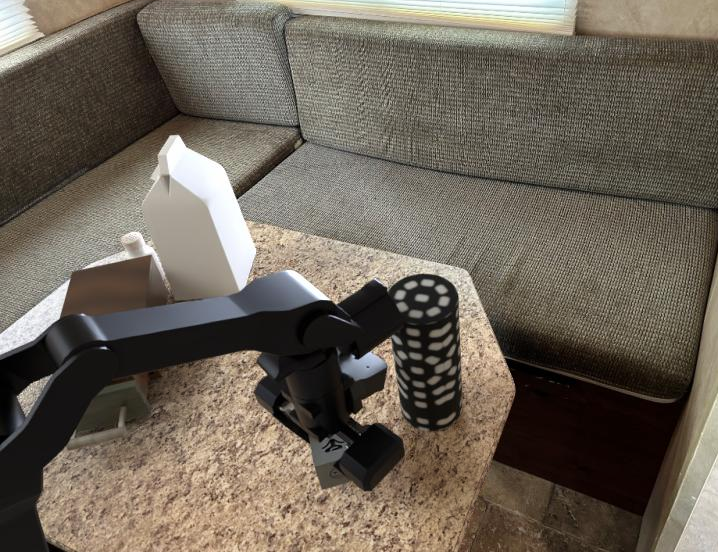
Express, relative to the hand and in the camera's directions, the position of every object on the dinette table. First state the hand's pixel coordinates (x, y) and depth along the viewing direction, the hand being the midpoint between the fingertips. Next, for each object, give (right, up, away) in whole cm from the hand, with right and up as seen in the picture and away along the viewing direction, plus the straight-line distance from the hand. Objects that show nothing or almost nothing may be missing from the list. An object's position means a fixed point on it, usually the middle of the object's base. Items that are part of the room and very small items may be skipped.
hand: (337, 460), depth 72 cm
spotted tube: (+12, +4, +9) cm, 16 cm away
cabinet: (-36, +11, +24) cm, 45 cm away
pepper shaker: (-37, +20, +35) cm, 54 cm away
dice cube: (0, -1, +1) cm, 1 cm away
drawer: (-34, +5, +15) cm, 38 cm away
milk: (-25, +21, +34) cm, 47 cm away
